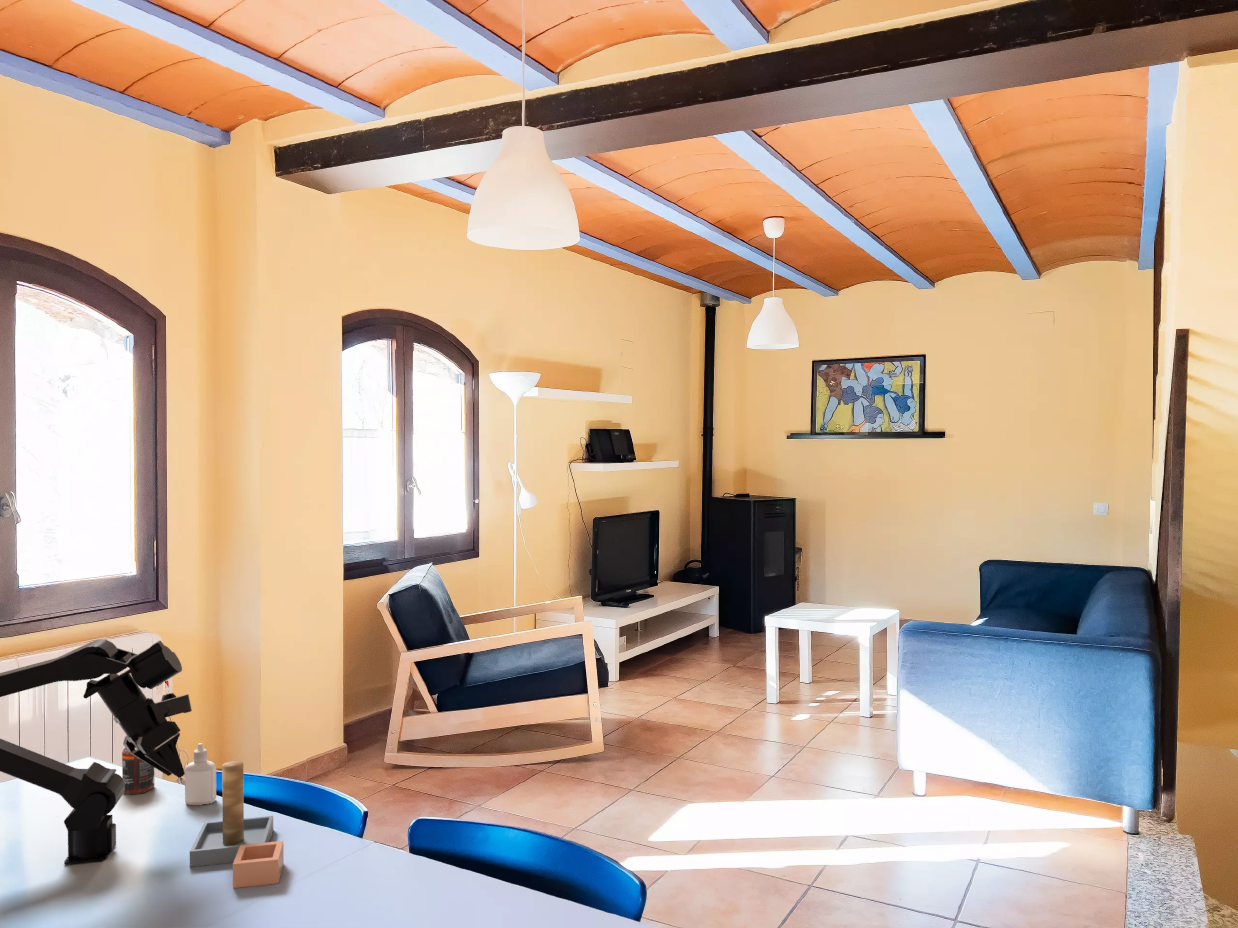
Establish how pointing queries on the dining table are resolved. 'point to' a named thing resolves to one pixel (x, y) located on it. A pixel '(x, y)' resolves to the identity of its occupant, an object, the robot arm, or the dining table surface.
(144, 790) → the supplement bottle
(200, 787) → the eye dropper bottle
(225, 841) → the oak dowel
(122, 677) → the robot arm
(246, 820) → the tray
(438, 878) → the dining table surface
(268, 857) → the terracotta socket
